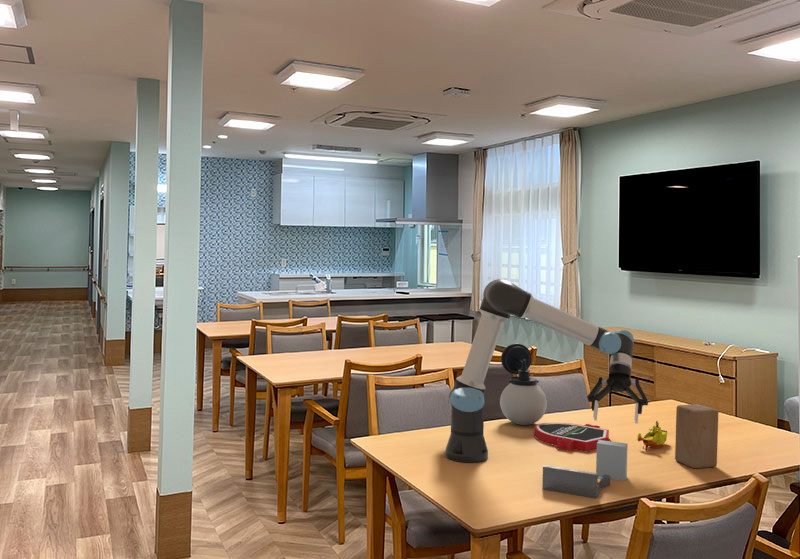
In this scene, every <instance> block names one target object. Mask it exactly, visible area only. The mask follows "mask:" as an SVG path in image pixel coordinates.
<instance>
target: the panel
mask: <svg viewBox="0 0 800 559" xmlns="http://www.w3.org/2000/svg"><path fill="white" fill-rule="evenodd" d="M595 458H596V459H595V460H596V463H595V465H596V466H595V473H598V477H600V476H603V475H609V476H610V480H616V481H621V482H626V480H627V477H628V474H627V473H628V443H625V442H619V441H609V440H608V441H604V440H599V441H598V442H597V449H596V457H595Z"/></svg>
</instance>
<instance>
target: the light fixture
mask: <svg viewBox="0 0 800 559" xmlns="http://www.w3.org/2000/svg"><path fill="white" fill-rule="evenodd" d="M532 359H533V357H532V354H531V351H530V350H529V348H528V347H527V346H525V345H524V344H521V343H511V344H509V345H507V346H506V347H505V348H504V349H503V350H502V353H501V356H500V362H501V366H502V367H503V369H504V370H505V371H506V372H508V373H509V374H511V375H518V376H512V377H511V378H510V380H508V385H507V386H505V388H504V389H503V390H502V392H501V395H500V398H499V405H500V409H501V412H502V414H503V415H504V416H505V418H507V420H509V421H510V422H511V423H514V424H516V425H519V426H520V425H521V426H528V425H532V424H536V423H537V422H538V421H540V420H541V419H542V418H543V417H544V415H545V413H546V410H547V404H548V402H547V397H546V394H545V393H544V390H543V389H542V388H541V386H539V385H538V383H539V382H540V381H539V379H537V378H535V377H532V376H530V372H531V370H530V369H529V368H530V367H531V364H532V361H533V360H532Z"/></svg>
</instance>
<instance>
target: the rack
mask: <svg viewBox="0 0 800 559" xmlns="http://www.w3.org/2000/svg"><path fill="white" fill-rule="evenodd" d="M541 486H542V487H541V488H542V490H543V491H544V490H546V491H551V492H556V493H561V494H562V493H563V494H568V495H569V494H570V495H573V496H574V495H575V496H581V497H586V498H593V499H598V496H599V494H600V492H601V490H602V489H604V488H606V487H609V486H611V479H610V476H609V475H603V476H600V477H598V473H596V472H589V471H585V470H584V471H583V470H579V469H578V470H577V469H571V468H566V467H558V466H552V465H547V464H546V465H545V464H544V465H543V466H542V484H541Z"/></svg>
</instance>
